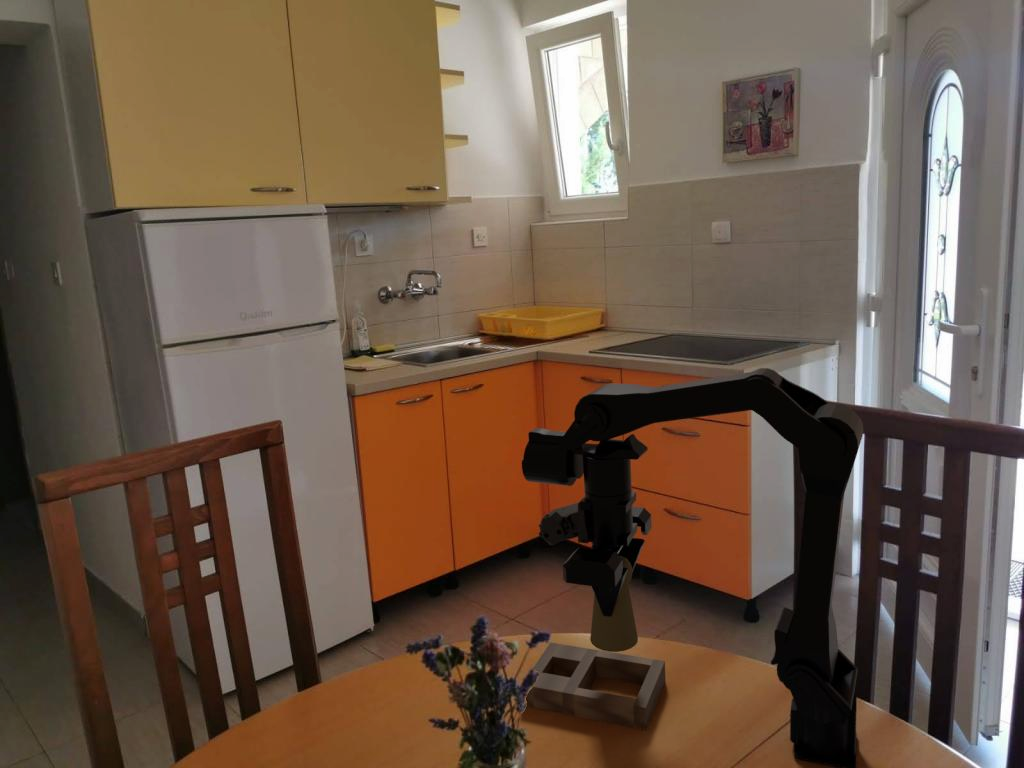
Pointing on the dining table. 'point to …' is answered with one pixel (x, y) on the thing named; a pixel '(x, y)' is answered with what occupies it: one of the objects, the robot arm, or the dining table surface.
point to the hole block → (574, 673)
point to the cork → (615, 621)
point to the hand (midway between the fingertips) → (612, 606)
